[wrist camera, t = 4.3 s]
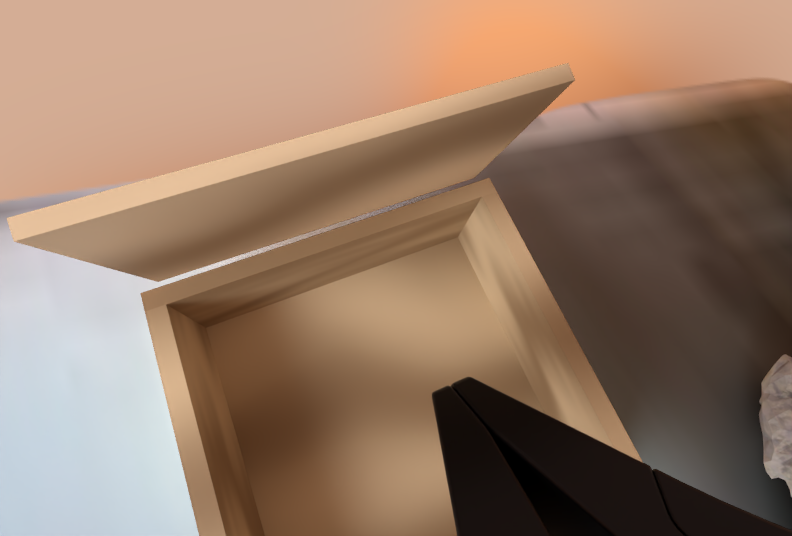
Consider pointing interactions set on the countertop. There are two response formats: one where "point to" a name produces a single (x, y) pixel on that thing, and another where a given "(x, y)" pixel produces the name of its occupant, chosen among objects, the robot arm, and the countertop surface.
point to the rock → (777, 420)
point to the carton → (360, 368)
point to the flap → (291, 183)
